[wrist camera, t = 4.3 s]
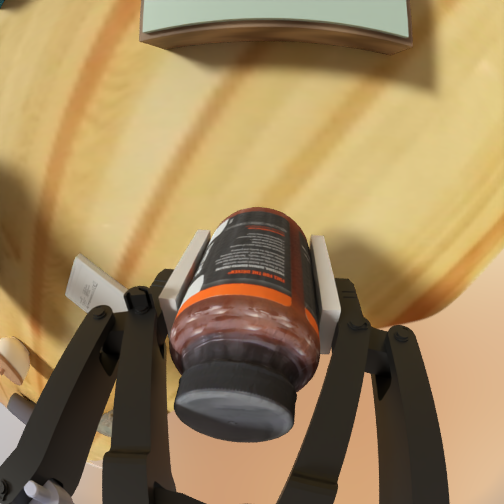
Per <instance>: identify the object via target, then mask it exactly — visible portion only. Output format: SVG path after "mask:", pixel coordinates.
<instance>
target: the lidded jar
mask: <svg viewBox="0 0 504 504" xmlns="http://www.w3.org/2000/svg"><path fill="white" fill-rule="evenodd" d="M29 355H30V354H29V351H28V350H27V348H26V347H25V346H24V345H23V344H22V342H20V341H19V340H18V339H17V338H15V337H13V336H12V337H3V338H1V339H0V375H3V374H4V375H5V376H6V377H7V378H8V379H10V380H11V381H12V382H14V383H15V384H17V385H22V383H23V381H24V379H25V377H26V376H27V373H28V371H29V368H30V358H29Z"/></svg>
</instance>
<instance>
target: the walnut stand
mask: <svg viewBox="0 0 504 504" xmlns="http://www.w3.org/2000/svg"><path fill="white" fill-rule="evenodd" d="M139 41H140V42H143V43H146V44H150V45H153V46H156V47H159V48H162V49H170V48H177V47H183V46H191V45H199V44H209V43H221V42H238V41H290V42H307V43H319V44H328V45H337V46H344V47H351V48H357V49H363V50H369V51H374V52H379V53H384V54H388V55H392V54H395V53H398V52H400V51H403V50H406V49H408V48H411V47H413V39H412V21H411V9H410V0H141V12H140V34H139Z"/></svg>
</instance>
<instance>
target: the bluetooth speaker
mask: <svg viewBox="0 0 504 504" xmlns="http://www.w3.org/2000/svg"><path fill="white" fill-rule="evenodd" d="M35 405H36V404H35V403H34V402H32V401H28V400H26V399H25V398H23V397H22V396H20V395H19V394H17V393H14V394H13V395H12V396H11V397H10V400H9V403H8V406H7V408H8V410H9V411H10V412H11V413H12V414H13V415H15V416H16V417H17V418H18V419H19V420H21V421H22V422H23V423H24V424H26V425H27V422H28V420H29V418H30V416H31V414H32V412H33V410H34V408H35Z"/></svg>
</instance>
